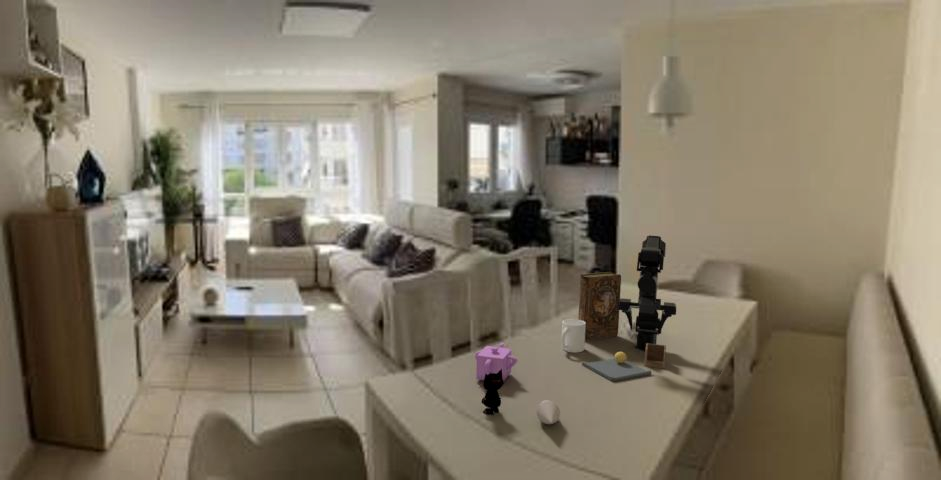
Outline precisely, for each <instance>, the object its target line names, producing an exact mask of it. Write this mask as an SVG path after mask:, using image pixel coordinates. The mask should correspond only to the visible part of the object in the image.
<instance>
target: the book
mask: <svg viewBox="0 0 941 480" xmlns="http://www.w3.org/2000/svg"><path fill="white" fill-rule="evenodd" d="M579 277H580V278H579V280H580V281H579V300H578V301H579V302H578V320H582V321H584V322H585V323H586V326H585V342H588V341H590V342H591V341H595V340H596V341H597V340H601V339H602V340H604V339H609V338H614V337H617V336H618V335H619V328H620V326H619V324H620V310H618V303H619V300H620V299H621V287H622V275H621V274H615V273H613V271H605V272H604V271H603V272H593V273H582V274H580V276H579Z"/></svg>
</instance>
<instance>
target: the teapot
mask: <svg viewBox="0 0 941 480" xmlns="http://www.w3.org/2000/svg"><path fill="white" fill-rule="evenodd" d="M504 344H505V343H504V342H500V343H499V346H498V347H497V346H491V345H486V346H485V347H484V348H482V349H481V350H477V352H476V353H475V354H474V358H475V361H476V371H475V372H476V373H475V374H476V376H475V377H476V378H475V379H476V380H481V381H483V379H485V373H486V374H487V375H488V374H489V373H495V374H497V373H498V372H499V371H500V370H501V369H502V378H503V381H504V382H505V381H506V379H507V378H508V376H509V375H510V374H511V372H512V367H514V366H515V365H516V364H517V363H518V358H517V357H515V356H513V355H512V353H513V352H512V351H513V350H512V348H507V347H504Z"/></svg>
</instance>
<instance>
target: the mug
mask: <svg viewBox="0 0 941 480" xmlns="http://www.w3.org/2000/svg"><path fill="white" fill-rule="evenodd" d="M585 326H586V323H585V322H584V321H582V320H578V319H577V318H569V319H568V318H566V319H563V320H562V327H561V329H562V331H561V336H560V345H561V349H562V350H563V351H565V352H567V353H573V354H574V353H576V354H577V353H581V352H583V351H584V350H585V342H586V341H585Z"/></svg>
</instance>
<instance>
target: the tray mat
mask: <svg viewBox="0 0 941 480" xmlns="http://www.w3.org/2000/svg"><path fill="white" fill-rule="evenodd" d="M581 366H583V367H585V368H586V369H588V370H590V371H592V372H594V373H595V374H597V375H599V376H601V377H602V378H604V379H606V380H608V381H610V382H612V383H614V382H619V381H624V380H629V379H634V378H640V377H644V376H649V375H652V370H651V369H649V370H648V369H647V370H646V369H643V368H641V367H639V366H638V365H635V364H633V363H632V362H631V363H630V362H629V361H627V360H626V361H625V362H624V363H617V362H616V361H615V357H614V358H608V359H605V360H598V361H591V362H587V361H586V362H585V361H584V360H583V361H581Z"/></svg>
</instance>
